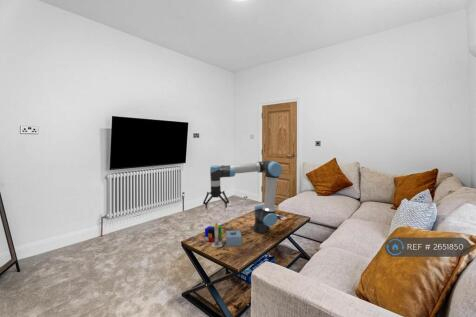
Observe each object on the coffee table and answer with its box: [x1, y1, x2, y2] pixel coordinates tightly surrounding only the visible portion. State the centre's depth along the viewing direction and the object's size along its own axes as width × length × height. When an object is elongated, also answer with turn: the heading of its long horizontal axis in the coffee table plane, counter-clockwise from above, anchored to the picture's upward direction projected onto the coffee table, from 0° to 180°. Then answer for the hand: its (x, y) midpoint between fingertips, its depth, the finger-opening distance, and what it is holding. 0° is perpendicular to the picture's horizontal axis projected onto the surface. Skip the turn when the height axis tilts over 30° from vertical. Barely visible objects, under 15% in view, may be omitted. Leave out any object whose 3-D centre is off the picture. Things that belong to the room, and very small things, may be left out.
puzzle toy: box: [204, 224, 223, 243], centre depth 185 cm, size 10×10×10 cm
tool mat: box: [211, 241, 223, 249], centre depth 175 cm, size 8×8×1 cm
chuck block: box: [221, 229, 243, 247], centre depth 178 cm, size 16×12×8 cm
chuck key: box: [214, 222, 220, 245], centre depth 174 cm, size 3×8×16 cm, turn 5°
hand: (216, 212), depth 173 cm, fingers open, 13 cm apart
